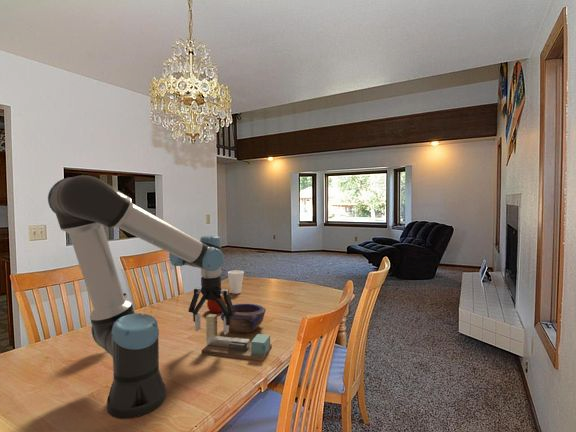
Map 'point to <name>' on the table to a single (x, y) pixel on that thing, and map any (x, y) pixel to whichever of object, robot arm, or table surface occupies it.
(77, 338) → the table surface
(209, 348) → the rail base
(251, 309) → the bowl
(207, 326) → the slide bar
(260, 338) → the socket block
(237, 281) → the cup
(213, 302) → the fruit
